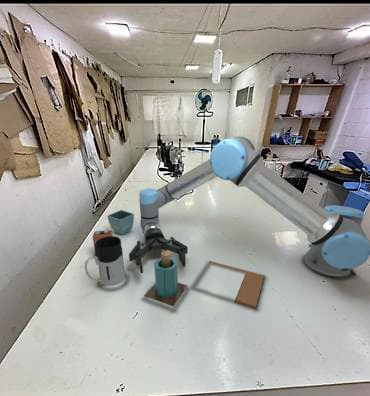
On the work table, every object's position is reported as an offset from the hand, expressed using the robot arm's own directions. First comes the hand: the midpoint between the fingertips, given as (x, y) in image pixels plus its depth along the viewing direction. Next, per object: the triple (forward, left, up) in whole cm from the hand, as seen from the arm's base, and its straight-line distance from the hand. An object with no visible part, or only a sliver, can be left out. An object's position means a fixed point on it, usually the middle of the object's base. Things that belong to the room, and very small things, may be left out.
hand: (163, 266), depth 74 cm
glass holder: (+16, +8, -8) cm, 20 cm away
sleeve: (-3, +3, -6) cm, 7 cm away
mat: (-19, -11, -7) cm, 23 cm away
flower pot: (+37, -25, -8) cm, 45 cm away
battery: (+31, -7, -8) cm, 33 cm away
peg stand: (-3, +3, -7) cm, 9 cm away
